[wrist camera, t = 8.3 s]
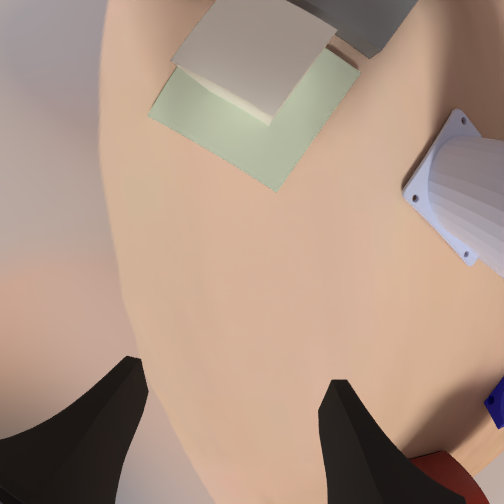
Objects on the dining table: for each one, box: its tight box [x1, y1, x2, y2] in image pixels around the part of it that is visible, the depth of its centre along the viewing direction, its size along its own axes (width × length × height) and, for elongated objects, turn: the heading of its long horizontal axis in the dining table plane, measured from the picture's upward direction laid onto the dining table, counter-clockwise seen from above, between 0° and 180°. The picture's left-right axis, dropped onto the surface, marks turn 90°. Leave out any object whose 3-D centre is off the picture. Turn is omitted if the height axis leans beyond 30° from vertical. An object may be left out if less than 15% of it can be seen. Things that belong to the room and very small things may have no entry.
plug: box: [171, 0, 338, 126], centre depth 10 cm, size 4×4×7 cm
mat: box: [148, 48, 361, 193], centre depth 14 cm, size 9×9×1 cm
